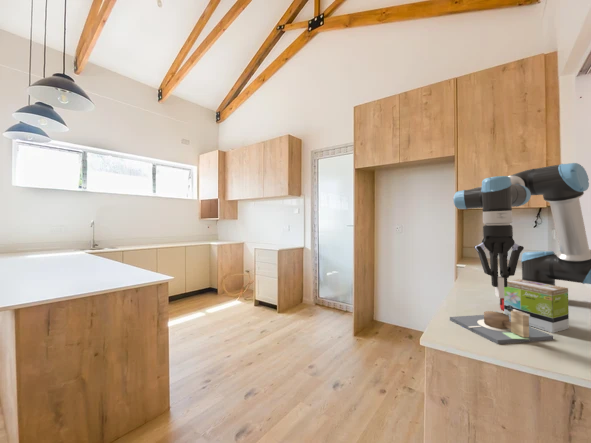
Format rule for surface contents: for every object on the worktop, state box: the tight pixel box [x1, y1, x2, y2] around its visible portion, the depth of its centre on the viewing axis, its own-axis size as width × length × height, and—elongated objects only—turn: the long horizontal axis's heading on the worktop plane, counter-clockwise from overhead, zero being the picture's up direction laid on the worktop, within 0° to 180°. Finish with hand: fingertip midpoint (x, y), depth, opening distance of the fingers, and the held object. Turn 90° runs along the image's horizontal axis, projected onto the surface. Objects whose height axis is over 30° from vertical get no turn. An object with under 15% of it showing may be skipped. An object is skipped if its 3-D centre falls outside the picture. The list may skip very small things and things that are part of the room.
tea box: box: [503, 278, 570, 334], centre depth 94 cm, size 15×10×15 cm, turn 21°
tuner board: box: [449, 314, 554, 345], centre depth 89 cm, size 21×21×1 cm
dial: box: [483, 309, 530, 337], centre depth 85 cm, size 15×7×8 cm, turn 5°
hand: (499, 296), depth 82 cm, fingers closed
